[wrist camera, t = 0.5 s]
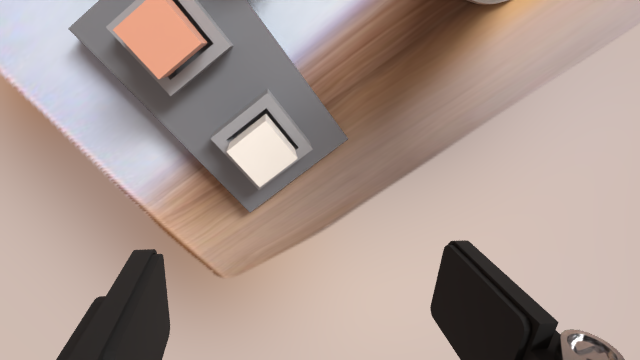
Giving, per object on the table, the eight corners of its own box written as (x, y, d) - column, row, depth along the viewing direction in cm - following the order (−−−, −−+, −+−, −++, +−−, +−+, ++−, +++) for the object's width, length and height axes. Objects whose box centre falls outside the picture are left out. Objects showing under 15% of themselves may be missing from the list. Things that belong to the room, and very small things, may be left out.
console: (194, -70, 31) (179, -94, 26) (342, 132, 40) (354, 146, 35) (84, 29, 33) (48, 27, 27) (251, 201, 42) (248, 225, 37)
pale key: (265, 113, 32) (265, 120, 29) (295, 148, 34) (297, 158, 31) (229, 142, 32) (226, 151, 30) (260, 175, 34) (259, 187, 31)
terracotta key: (168, -5, 27) (157, -10, 24) (207, 42, 29) (201, 43, 26) (127, 30, 28) (112, 29, 25) (169, 75, 29) (158, 79, 27)
